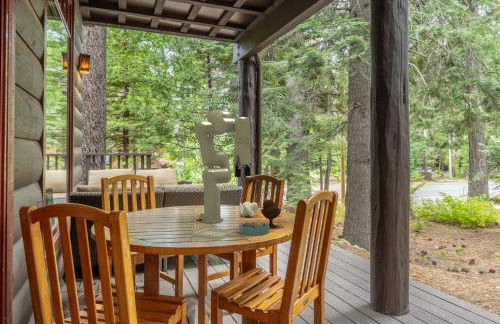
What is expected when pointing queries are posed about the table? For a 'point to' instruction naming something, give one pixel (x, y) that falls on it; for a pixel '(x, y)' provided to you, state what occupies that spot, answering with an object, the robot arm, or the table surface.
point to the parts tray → (214, 233)
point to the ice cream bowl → (270, 211)
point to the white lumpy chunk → (249, 209)
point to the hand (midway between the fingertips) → (242, 176)
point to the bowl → (254, 230)
